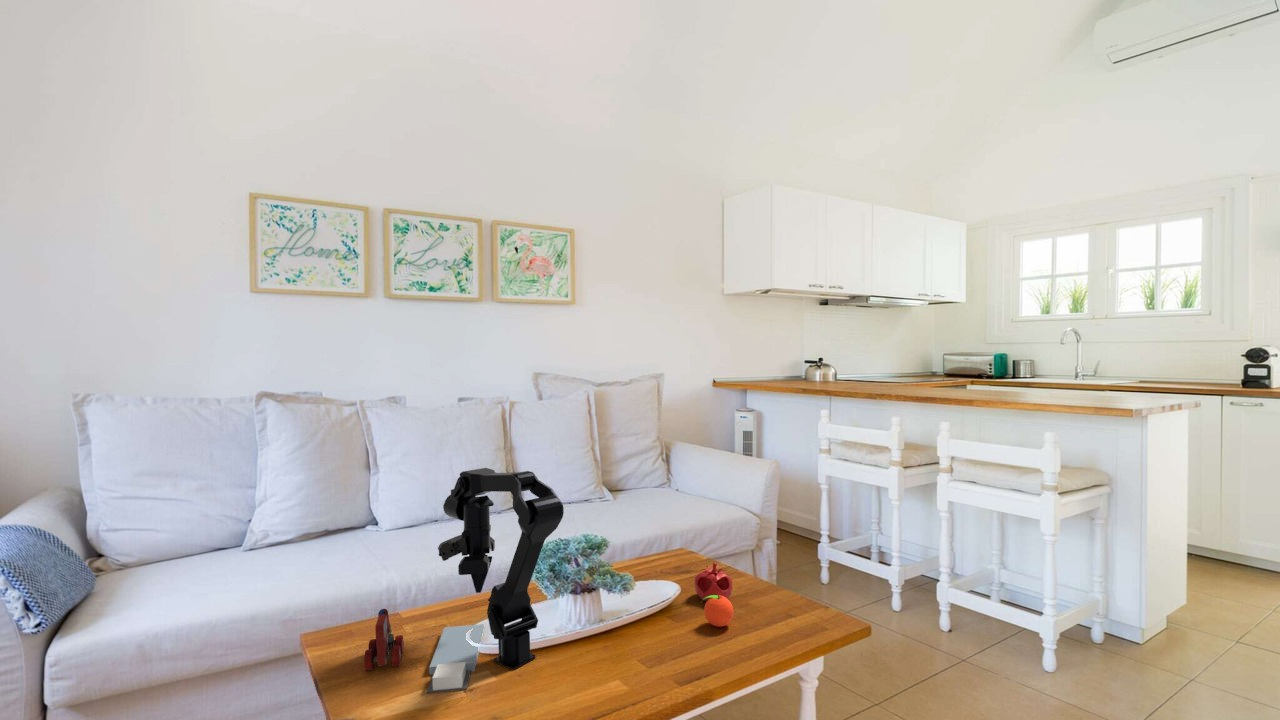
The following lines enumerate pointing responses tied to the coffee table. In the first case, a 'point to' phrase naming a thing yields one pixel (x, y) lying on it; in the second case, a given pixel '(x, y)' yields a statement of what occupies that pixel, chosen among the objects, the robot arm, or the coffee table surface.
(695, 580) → the pomegranate
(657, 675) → the coffee table surface
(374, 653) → the red toy vehicle
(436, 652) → the grey board
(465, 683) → the rubber mat
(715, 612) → the clementine
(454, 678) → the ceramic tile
